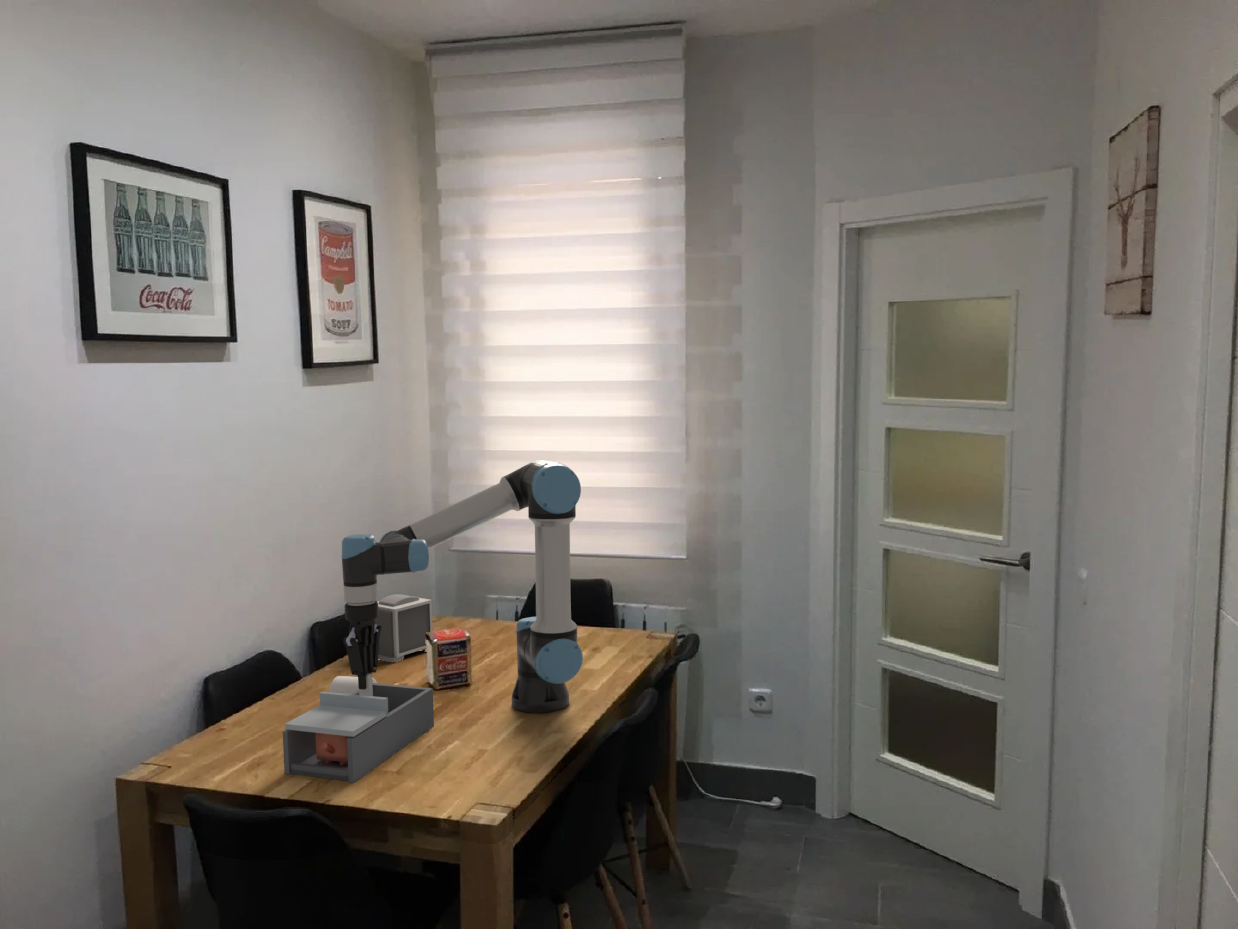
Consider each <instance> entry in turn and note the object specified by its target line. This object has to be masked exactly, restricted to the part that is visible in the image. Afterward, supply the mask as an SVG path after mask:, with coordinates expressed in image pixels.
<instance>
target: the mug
mask: <svg viewBox="0 0 1238 929" xmlns="http://www.w3.org/2000/svg"><path fill="white" fill-rule="evenodd" d="M372 683H378V682H377V679H375V678H374V677H372ZM357 690H359V687H358V676H346V675H345V676H344V675H343V676H342V675H337V676H335V677H334V679H333V680H332V681H331V684H330V687H329V692H333V693H344V694H352V693H354V692H356V691H357Z"/></svg>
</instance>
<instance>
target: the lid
mask: <svg viewBox="0 0 1238 929" xmlns="http://www.w3.org/2000/svg"><path fill="white" fill-rule="evenodd" d="M387 715H388V698H386V697H375V696H365V695H354V694H344V693H333V692H330V691H321V692H319V705H317V706H316V707H314V708H312V709H310V710H308V711H306V712H305V713H302V714H300V715H299V716H297V717H295V718H293V719H291V720H289V721H287V722H286V723H284V729H285V730H287V729H288V730H297V731H306V732H315V733H324V734H333V735H342V736H351V737H354V736H356V735H357V734H359V733H360V732H362V731H364V730H365V729H367V728H368V727H370V726H372V725H373V724H375V723H376V722H378V721H379V720H381V719H383V718H384V717H386V716H387Z"/></svg>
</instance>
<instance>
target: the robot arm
mask: <svg viewBox="0 0 1238 929" xmlns="http://www.w3.org/2000/svg"><path fill="white" fill-rule="evenodd" d="M581 492H582V488H581V482H580V479H579V477H578V476H577V474H576V473H575V471H573V470H572V469H571V468H570V467H568V466H567V465H565V464H564V463H563V464H562V463H560V462H553V461H550V460H546V459H539V460H534V461H531V462H529V463H527V464H526V465H525V464H524V466H521V467H520V468H518V469H515V470H514V471H512V472H510V473H508V474H506V475H504V476H501V477H500V479H499V482H498V483H496V484H493V485H491V486H490V487H488V488H485V489H483V490H482V491H479V492H477V493H475V494H473V495H471V496H468V497H466V498H464V499H462V500H459V501H457V502H456V503H453V504H451V505H449V506H447V507H445V508H442V509H440V510H438V511H436V512H434V513H432V514H429V515H428V516H426V517H424V518H421V519H420V520H418V521H415V522H413V523H411V524H409V525H407V526H405V527H402V528H400V529H398V530H389V531H387V532H385V533H384V534H383V535H382V536H381V537H380V539H379V542H377V540H376V537H375V536H374V535H372V534H368V533H365V534H362V533H361V534H352V535H347V536H345V537H344V538H343V539H342V541H341V565H342V579H343V598H344V600H343V601H344V602H345V604H344V618H345V620H346V621H347V622H349V630H348V631H349V635H348V636H347V637H343V639H342V642H343V644H344V646H345V649H346V653H347V658H348V662H349V663H348V664H349V667H350V673H351V675H352V676H356V677H358V687H359V695H365V696H373V688H372V678H373V673H377V669H376V668H377V667H378V666H379V665H378V664H379V663H378V662H379V660H378V652H379V638H380V632H381V628H382V626H381V625H376V624H375V619H376V618H377V617H378V615H379V612H378V602H377V600H378V598H379V594H378V592H379V591H378V579H377V578H378V576H381V575H390V574H391V575H392V574H402V573H403V574H405V573H406V574H407V573H414V574H415V573H416V572H423V571H425V570H427V569H428V568H429V561H430V557H429V556H430V555H429V553H430V552H429V550H430V549H432V548H434V547H437V546H438V545H440V544H442V543H445V542H447V541H448V540H452V539H453V538H455V537H457V536H460V535H461V534H464V533H466V532H468V531H470V530H472V529H474V528H477V527H478V526H480V525H482V524H485V523H488V522H489V521H491V520H494V519H495V518H497V517H499V516H501V515H504V514H505V513H508V512H510V511H516V512H519V511H521V510H523V509H526V508H528V510H527V511H528V515H527V516H528V517H527V518H528V520H530V521H531V522H532V523H533V524H534V552H535V553H534V554H535V556H534V558H535V560H534V561H535V564H534V565H535V568H534V569H535V616H530V617H529V616H528V617H525V618H521V619H519V620H518V621H517V623H516V630H515V634H516V660H517V663H516V664H517V678H516V679H515V684H514V688H513V691H512V694H511V706H512V707H513V708H514V709H515V710H516V711H521V712H525V713H533V714H534V713H536V714H537V713H549V712H550V713H551V712H554V711H559V710H562V709H564V708H566V707H567V706H569V704H570V693H569V691H568V690H569V689H568V687H567V684H566V683H567V682H569V681H571V680H572V679H573V678H574V677H576V675H578V674H579V672H580V670H581V669H582V665H583V660H584V656H583V651H582V649H581V647H580V645H579V644H578V624H576V622H574V620H572V612H571V611H572V609H571V604H572V603H571V596H572V595H571V541H570V540H571V539H570V538H571V535H570V534H571V533H570V532H571V530H570V529H571V526H570V524H571V523H572V522H573V521H574V520H575V519H576V514H577V513H576V511H577V510H576V507H577V504H578V502H579V500H580V498H581V494H582V493H581Z"/></svg>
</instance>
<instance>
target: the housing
mask: <svg viewBox="0 0 1238 929" xmlns="http://www.w3.org/2000/svg"><path fill="white" fill-rule="evenodd" d="M372 688H373V696H375V697H386V698H388V715H387V716H386V717H384V718H383V719H381V720H379V721H378V722H376V723H375V724H373V725H372V726H370V727H368V728H367V729H365V730H364V731H362V732H360V733H359V734H357V735H356V736H354V737H349V738H348V739H347V752H348V762H347V763H348V764H347V765H340V762H338V761H332V762H331V763H329V764H324V761H325V760H319V759H317V757H316V735H315V732H306V731H297V730H288V729H285V730H283V731H282V747H283V748H282V750H283V765H284V766H283V768H284V771H283V772H284V774H285V775H298V776H306V777H314V778H323V779H328V780H329V779H331V780H338V781H346V782H348V783H352V784H353V783H356V782H357V781H358V780H360V779H362V778H363V777H364V776H366V775H367V774H369V773H370V772H371V771H373V770H374V769H375V768H377V767H378V766H380V765H381V764H382V763H384V762H386V760H388V759H389V758H391V757H392V756H394V755H395V754H397V753H398V752H399V751H401V750H402V749H404V748H406V747H407V746H408V745H409V744H410V743H412V742H414V741H415V740H416V739H417V738H420V737H421V735H423V734H425V733H426V732H428V731H429V730H430V729H432V728H434V726H435V718H434V717H435V715H434V711H435V710H434V688H431V687H421V686H409V685H398V684H387V683H378V682H377V683H372ZM352 694H354V695H359V690H357V691H356V692H354V693H352Z"/></svg>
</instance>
